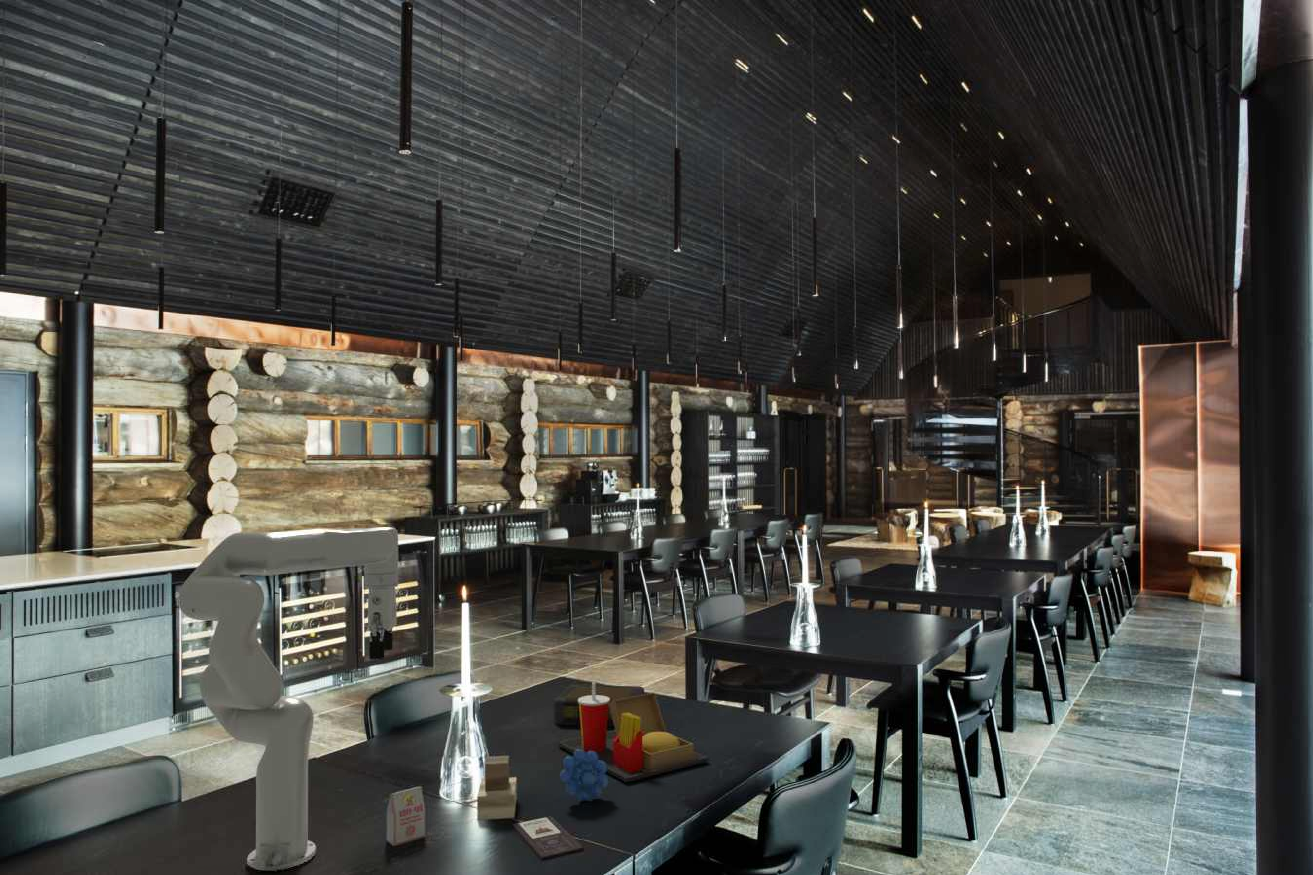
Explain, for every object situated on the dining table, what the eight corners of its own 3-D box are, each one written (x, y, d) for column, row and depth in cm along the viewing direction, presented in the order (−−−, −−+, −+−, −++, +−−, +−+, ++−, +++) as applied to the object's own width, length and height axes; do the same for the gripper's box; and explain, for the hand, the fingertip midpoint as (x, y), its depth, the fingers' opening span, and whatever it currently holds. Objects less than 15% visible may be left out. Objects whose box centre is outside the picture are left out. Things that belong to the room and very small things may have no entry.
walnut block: (507, 789, 191) (507, 762, 192) (485, 791, 191) (485, 764, 191) (509, 781, 196) (508, 755, 197) (487, 783, 196) (486, 756, 196)
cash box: (645, 709, 274) (645, 685, 274) (633, 728, 254) (633, 702, 254) (570, 707, 278) (569, 683, 278) (552, 725, 258) (552, 699, 258)
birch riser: (514, 817, 188) (514, 794, 189) (477, 819, 188) (477, 796, 188) (516, 798, 199) (516, 776, 200) (481, 800, 198) (481, 778, 199)
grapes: (566, 811, 191) (565, 757, 192) (557, 801, 197) (556, 748, 198) (614, 803, 196) (614, 750, 196) (604, 793, 202) (603, 741, 203)
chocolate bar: (541, 857, 168) (512, 824, 184) (541, 862, 168) (512, 828, 184) (583, 847, 172) (551, 815, 188) (583, 852, 172) (551, 820, 188)
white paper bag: (386, 840, 178) (386, 791, 178) (417, 831, 182) (417, 783, 182) (393, 846, 175) (393, 796, 175) (424, 836, 179) (424, 788, 180)
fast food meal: (626, 786, 207) (625, 709, 208) (557, 748, 236) (557, 681, 237) (708, 765, 222) (707, 693, 223) (634, 732, 251) (634, 668, 251)
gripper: (390, 584, 191) (390, 661, 190) (404, 575, 208) (404, 646, 208) (356, 585, 190) (355, 663, 190) (372, 576, 207) (372, 647, 207)
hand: (381, 654), depth 199 cm, fingers open, 9 cm apart
